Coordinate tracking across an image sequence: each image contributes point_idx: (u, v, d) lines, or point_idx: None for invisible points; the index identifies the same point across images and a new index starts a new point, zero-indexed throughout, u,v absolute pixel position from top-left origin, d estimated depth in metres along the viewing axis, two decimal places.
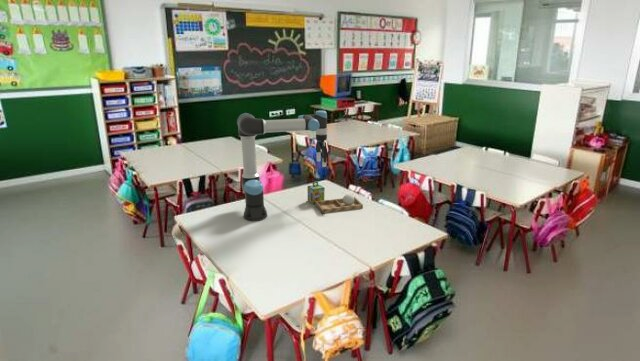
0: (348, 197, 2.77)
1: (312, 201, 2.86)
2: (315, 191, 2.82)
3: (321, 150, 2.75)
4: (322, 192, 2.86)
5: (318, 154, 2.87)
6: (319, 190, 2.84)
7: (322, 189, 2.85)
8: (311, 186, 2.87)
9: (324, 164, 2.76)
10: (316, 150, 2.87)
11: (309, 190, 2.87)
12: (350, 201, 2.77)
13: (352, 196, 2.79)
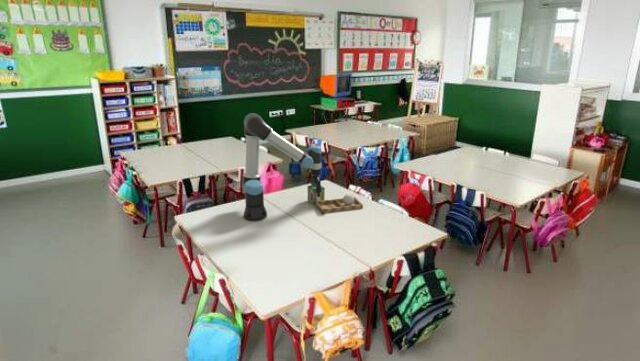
0: (348, 197, 2.77)
1: (312, 201, 2.86)
2: (315, 191, 2.82)
3: None
4: (322, 192, 2.86)
5: None
6: None
7: (322, 189, 2.85)
8: (311, 186, 2.87)
9: (318, 198, 2.84)
10: None
11: (309, 190, 2.87)
12: (350, 201, 2.77)
13: (352, 196, 2.79)
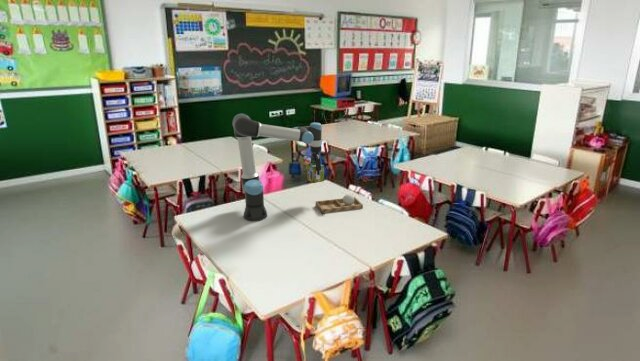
0: (348, 197, 2.77)
1: (312, 179, 2.80)
2: (314, 169, 2.77)
3: (315, 162, 2.77)
4: (322, 170, 2.81)
5: None
6: None
7: (322, 167, 2.80)
8: (311, 164, 2.82)
9: (317, 176, 2.79)
10: (311, 163, 2.88)
11: (309, 168, 2.81)
12: (350, 201, 2.77)
13: (352, 196, 2.79)
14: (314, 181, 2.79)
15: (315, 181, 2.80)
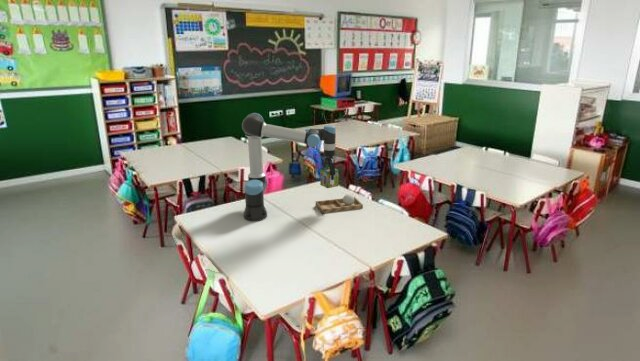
0: (348, 197, 2.77)
1: (325, 184, 2.68)
2: (328, 174, 2.65)
3: (329, 166, 2.65)
4: (336, 175, 2.69)
5: None
6: None
7: (336, 172, 2.68)
8: (324, 169, 2.70)
9: (332, 181, 2.66)
10: (324, 167, 2.75)
11: (322, 173, 2.69)
12: (350, 201, 2.77)
13: (352, 196, 2.79)
14: (328, 186, 2.67)
15: (329, 186, 2.68)
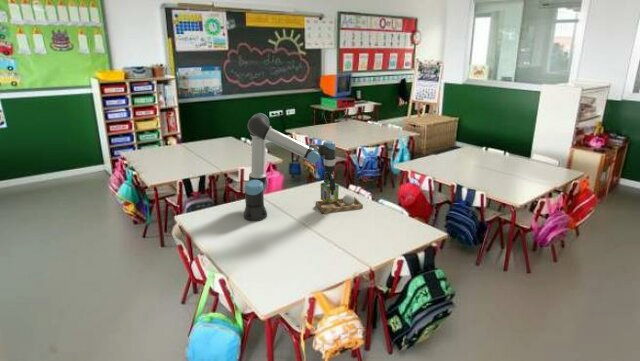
0: (348, 197, 2.77)
1: (326, 199, 2.71)
2: (328, 189, 2.68)
3: (329, 182, 2.68)
4: (336, 190, 2.72)
5: None
6: None
7: (336, 187, 2.71)
8: (324, 184, 2.73)
9: (332, 196, 2.70)
10: None
11: (322, 188, 2.72)
12: (350, 201, 2.77)
13: (352, 196, 2.79)
14: (328, 201, 2.71)
15: (329, 201, 2.71)
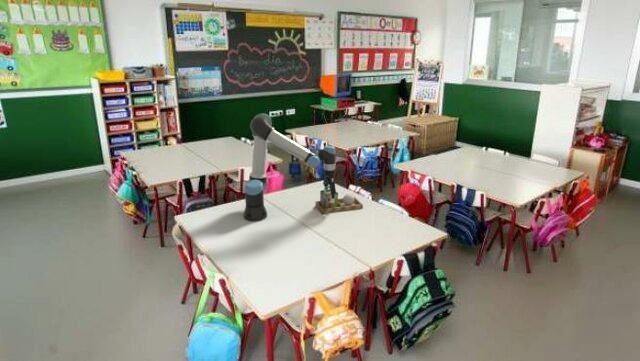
0: (348, 197, 2.77)
1: (325, 207, 2.73)
2: (328, 197, 2.70)
3: None
4: (335, 197, 2.74)
5: None
6: None
7: (335, 194, 2.73)
8: (324, 191, 2.75)
9: (332, 200, 2.69)
10: (324, 184, 2.80)
11: (322, 195, 2.75)
12: (350, 201, 2.77)
13: (352, 196, 2.79)
14: None
15: None
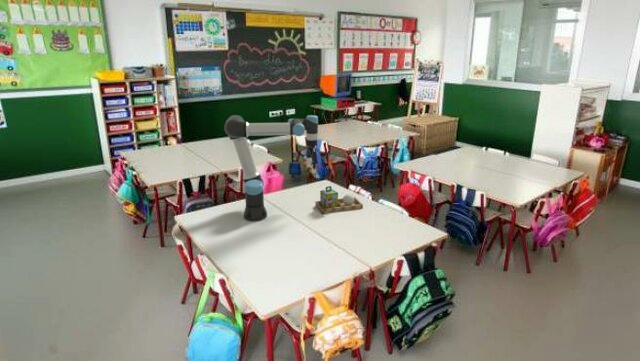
0: (348, 197, 2.77)
1: (325, 207, 2.73)
2: (328, 197, 2.70)
3: (311, 156, 2.68)
4: (335, 197, 2.74)
5: (308, 160, 2.79)
6: (332, 195, 2.72)
7: (335, 194, 2.73)
8: (324, 191, 2.75)
9: (313, 170, 2.68)
10: (306, 155, 2.80)
11: (322, 195, 2.75)
12: (350, 201, 2.77)
13: (352, 196, 2.79)
14: None
15: None
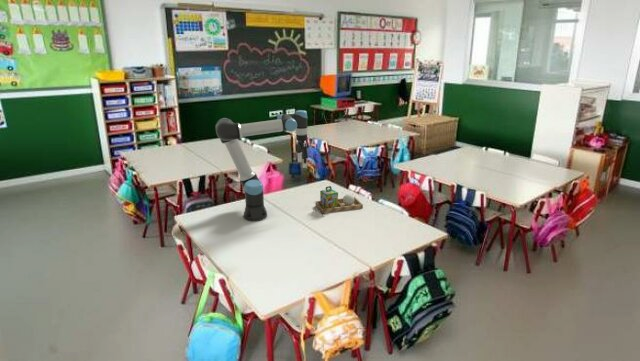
0: (348, 197, 2.77)
1: (325, 207, 2.73)
2: (328, 197, 2.70)
3: (301, 150, 2.70)
4: (335, 197, 2.74)
5: (299, 155, 2.82)
6: (332, 195, 2.72)
7: (335, 194, 2.73)
8: (324, 191, 2.75)
9: (304, 165, 2.71)
10: (297, 150, 2.82)
11: (322, 195, 2.75)
12: (350, 201, 2.77)
13: (352, 196, 2.79)
14: None
15: None
